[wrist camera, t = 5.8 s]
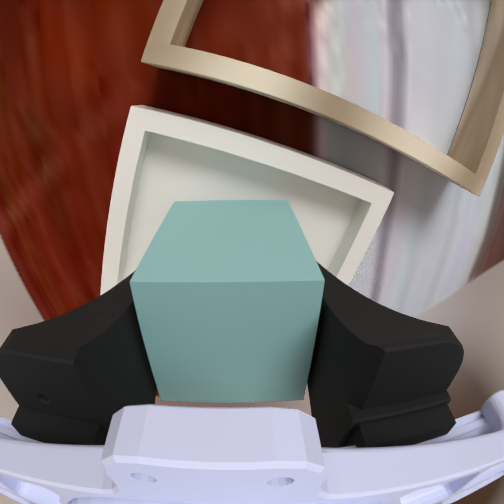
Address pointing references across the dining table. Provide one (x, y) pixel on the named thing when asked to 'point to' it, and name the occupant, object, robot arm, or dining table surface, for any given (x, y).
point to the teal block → (229, 302)
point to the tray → (232, 189)
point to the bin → (346, 113)
